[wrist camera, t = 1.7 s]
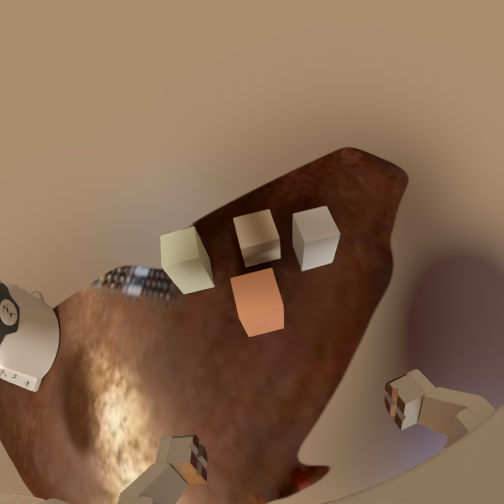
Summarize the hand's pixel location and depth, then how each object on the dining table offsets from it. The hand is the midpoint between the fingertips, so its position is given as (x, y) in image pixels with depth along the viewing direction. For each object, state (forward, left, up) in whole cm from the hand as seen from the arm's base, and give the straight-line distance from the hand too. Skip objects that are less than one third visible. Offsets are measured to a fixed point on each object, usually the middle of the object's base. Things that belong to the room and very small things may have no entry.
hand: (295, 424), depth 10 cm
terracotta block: (0, +12, -22) cm, 25 cm away
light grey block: (+9, +19, -22) cm, 31 cm away
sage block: (-8, +20, -22) cm, 31 cm away
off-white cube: (+2, +22, -22) cm, 32 cm away
